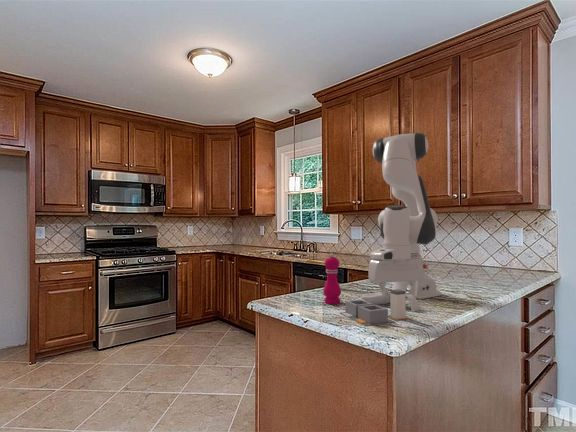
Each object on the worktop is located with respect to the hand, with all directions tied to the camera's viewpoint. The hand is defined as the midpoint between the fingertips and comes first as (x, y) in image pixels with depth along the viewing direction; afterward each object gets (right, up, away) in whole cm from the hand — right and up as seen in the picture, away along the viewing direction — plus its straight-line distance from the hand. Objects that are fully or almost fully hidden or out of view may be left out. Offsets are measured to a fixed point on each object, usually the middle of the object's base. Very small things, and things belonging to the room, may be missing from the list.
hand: (396, 295), depth 117 cm
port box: (-10, -8, 0) cm, 13 cm away
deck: (0, -8, 0) cm, 8 cm away
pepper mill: (-18, -9, +26) cm, 33 cm away
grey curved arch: (+3, -9, +19) cm, 21 cm away
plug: (0, -8, 0) cm, 8 cm away
